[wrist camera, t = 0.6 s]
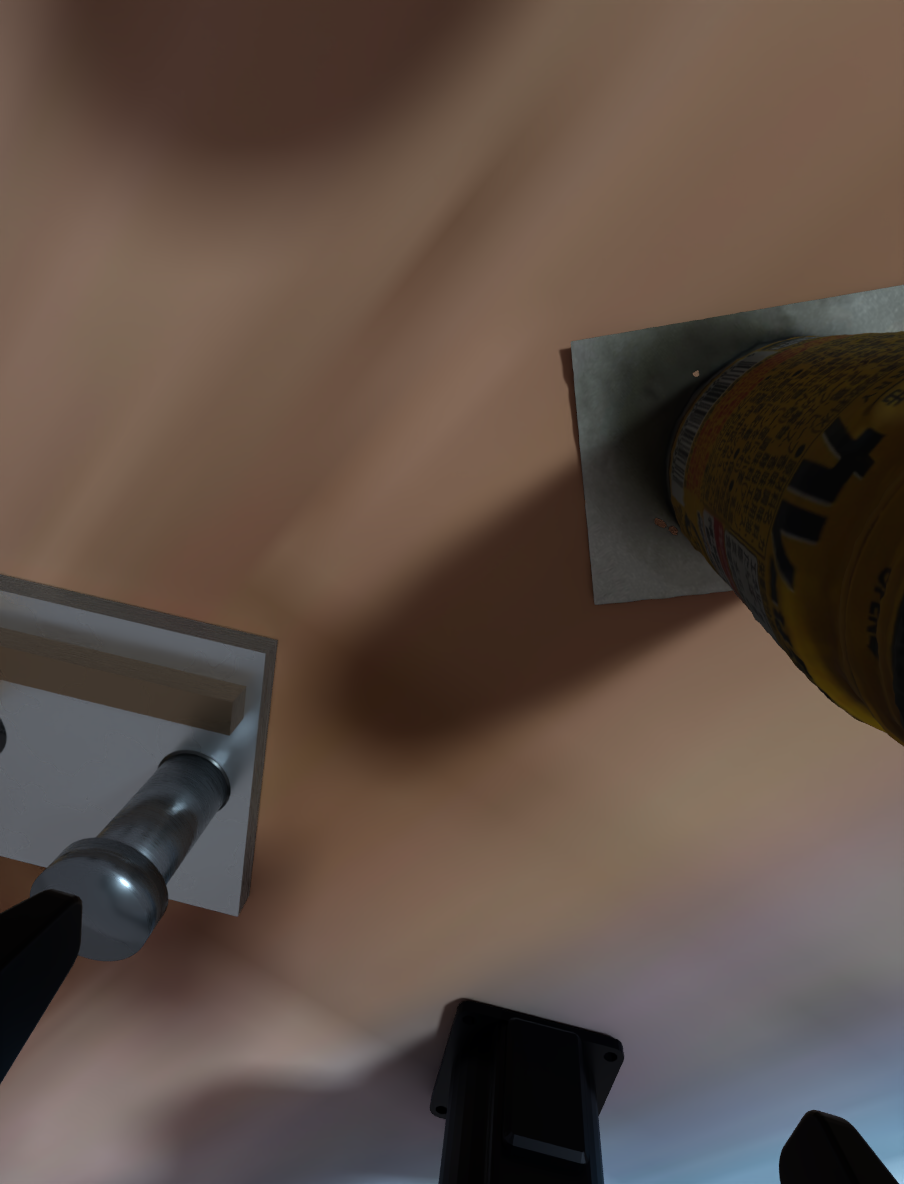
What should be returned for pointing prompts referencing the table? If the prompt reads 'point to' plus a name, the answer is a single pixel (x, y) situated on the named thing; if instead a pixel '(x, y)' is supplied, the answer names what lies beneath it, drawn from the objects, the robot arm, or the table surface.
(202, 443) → the table surface
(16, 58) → the table surface
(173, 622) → the plate
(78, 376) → the table surface
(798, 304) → the condiment
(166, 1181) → the table surface
